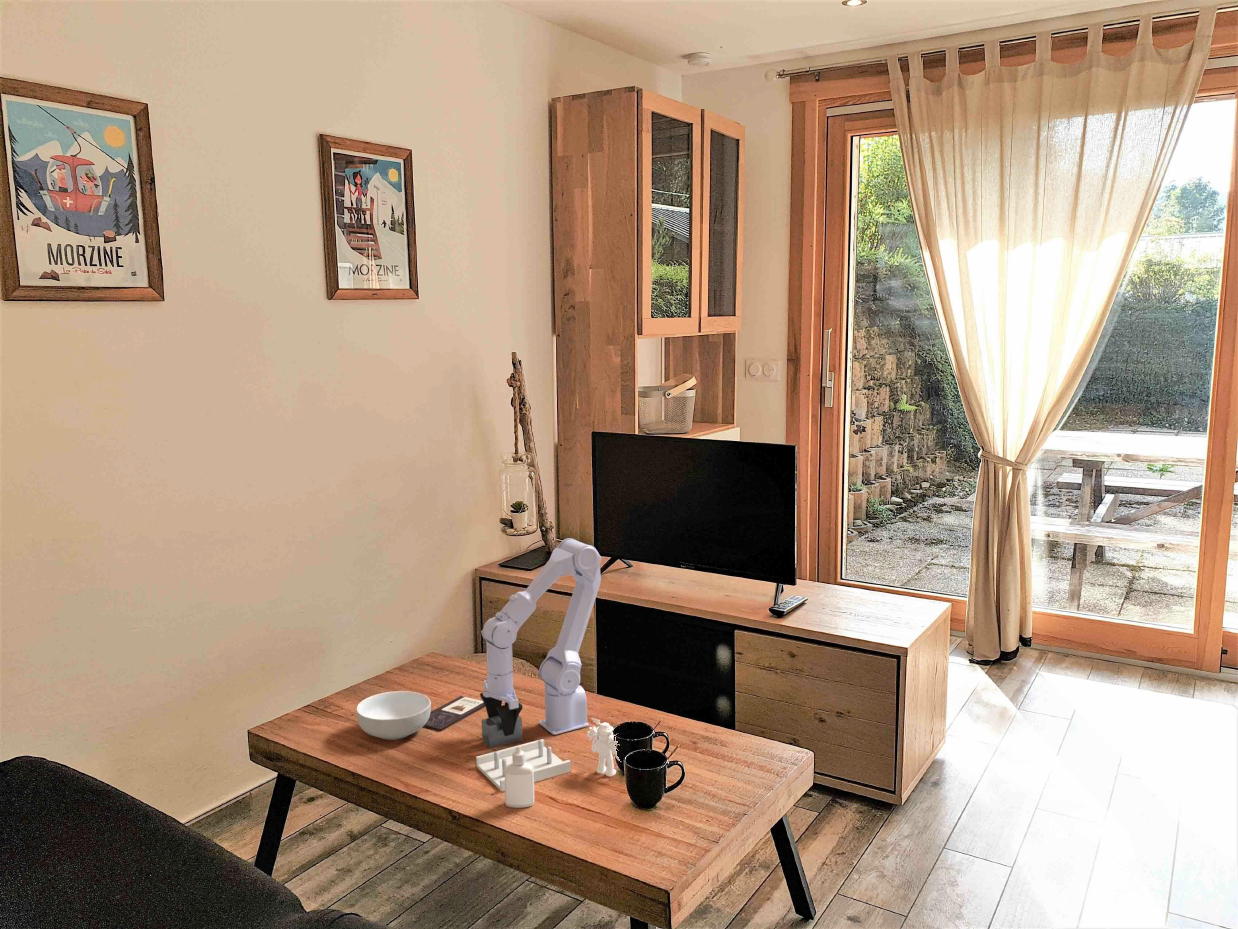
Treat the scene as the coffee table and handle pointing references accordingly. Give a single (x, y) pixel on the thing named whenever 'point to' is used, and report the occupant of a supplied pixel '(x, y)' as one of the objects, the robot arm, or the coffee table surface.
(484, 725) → the grey rectangular block
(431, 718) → the chocolate bar
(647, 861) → the coffee table surface
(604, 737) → the flower shoulder figurine
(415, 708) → the cereal bowl
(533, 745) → the tray
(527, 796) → the eye dropper bottle
